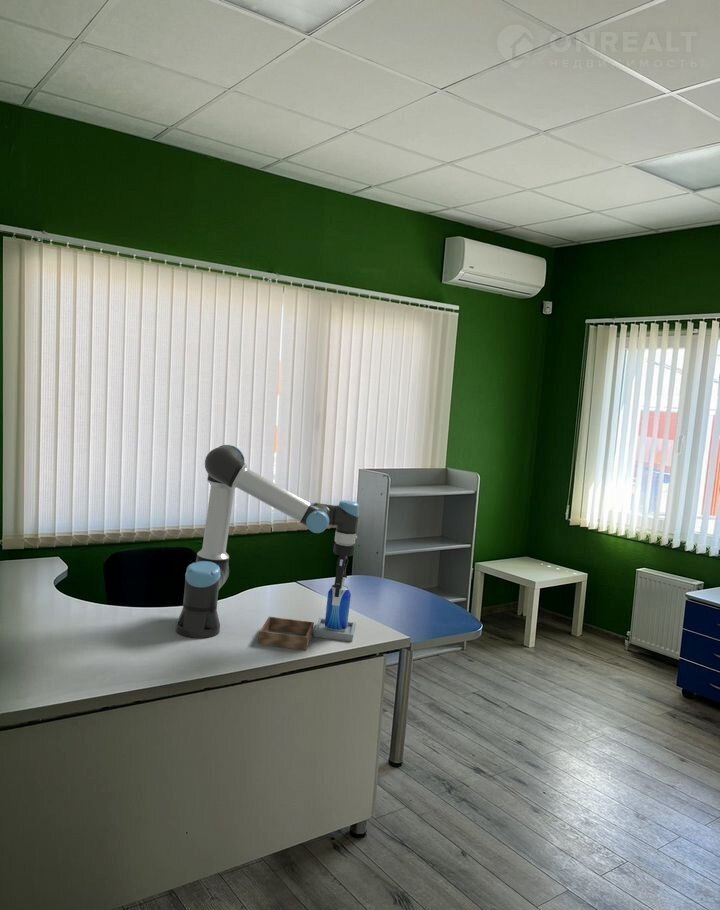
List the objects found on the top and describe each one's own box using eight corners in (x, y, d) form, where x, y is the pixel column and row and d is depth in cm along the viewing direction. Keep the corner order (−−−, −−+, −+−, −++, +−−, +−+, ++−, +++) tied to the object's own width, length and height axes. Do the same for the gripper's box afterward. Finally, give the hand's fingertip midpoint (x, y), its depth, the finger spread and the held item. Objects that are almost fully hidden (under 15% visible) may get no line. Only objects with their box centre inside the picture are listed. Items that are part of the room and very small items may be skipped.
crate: (258, 644, 246) (259, 631, 246) (267, 628, 262) (268, 616, 262) (306, 650, 245) (307, 637, 245) (312, 634, 262) (313, 622, 261)
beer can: (344, 634, 261) (348, 591, 260) (321, 630, 263) (326, 588, 261) (349, 627, 269) (353, 586, 268) (327, 624, 271) (331, 582, 269)
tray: (313, 636, 259) (314, 629, 259) (318, 624, 273) (319, 617, 273) (352, 641, 258) (353, 634, 258) (355, 629, 272) (355, 622, 272)
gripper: (352, 552, 250) (344, 611, 252) (357, 538, 275) (350, 592, 277) (330, 549, 251) (323, 608, 252) (337, 535, 275) (331, 589, 277)
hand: (337, 599), depth 265 cm, fingers open, 13 cm apart
